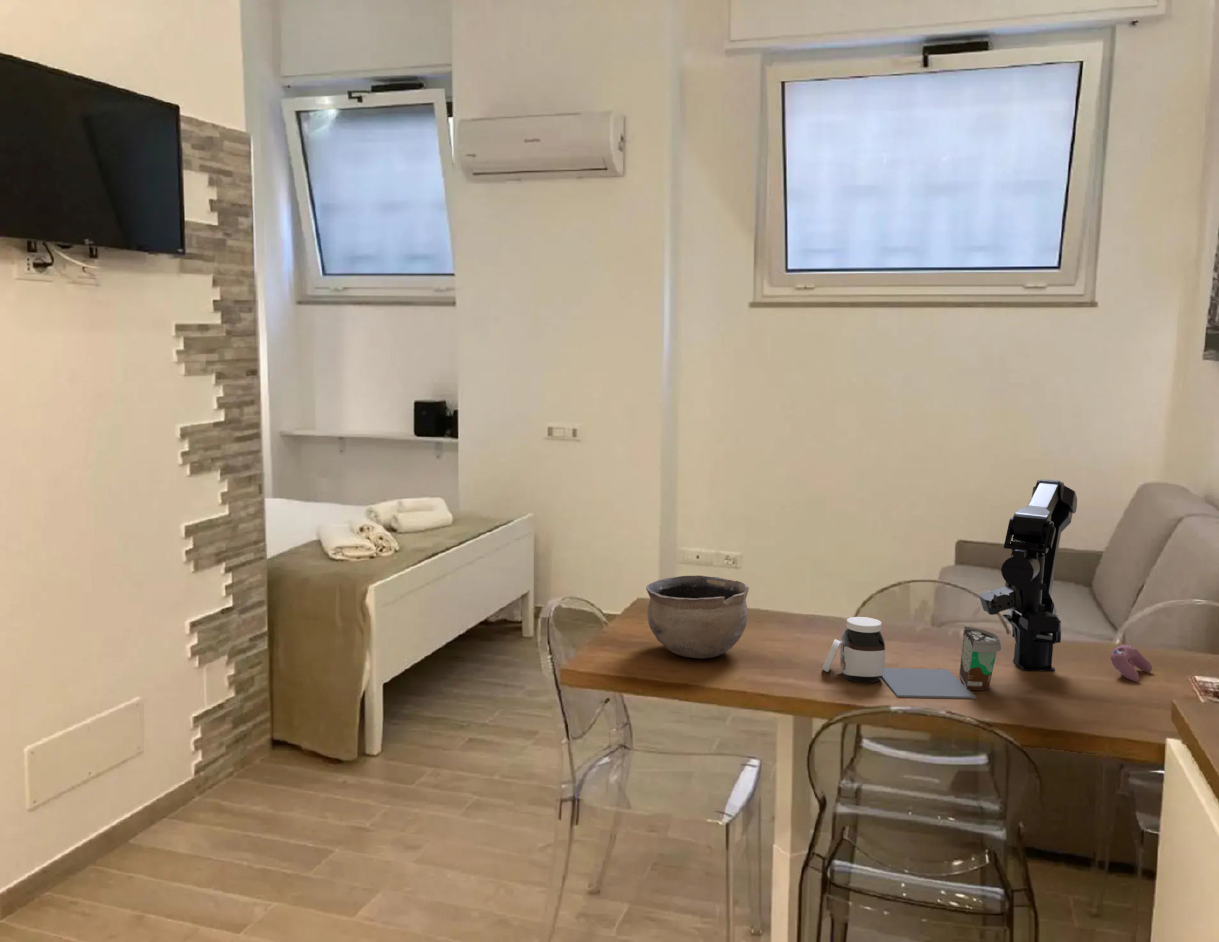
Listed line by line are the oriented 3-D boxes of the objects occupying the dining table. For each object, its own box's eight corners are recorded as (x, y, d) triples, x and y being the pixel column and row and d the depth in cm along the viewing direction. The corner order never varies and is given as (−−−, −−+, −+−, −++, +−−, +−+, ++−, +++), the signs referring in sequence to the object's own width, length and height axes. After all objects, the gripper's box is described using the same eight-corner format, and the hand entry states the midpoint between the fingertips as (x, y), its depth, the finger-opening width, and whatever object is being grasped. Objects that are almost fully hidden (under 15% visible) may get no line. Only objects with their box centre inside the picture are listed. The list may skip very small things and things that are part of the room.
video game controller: (1132, 675, 206) (1119, 643, 208) (1154, 670, 203) (1141, 638, 205) (1117, 685, 199) (1103, 652, 201) (1139, 681, 196) (1125, 647, 198)
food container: (1001, 696, 187) (1008, 645, 186) (967, 691, 188) (974, 641, 187) (989, 677, 199) (995, 629, 198) (958, 672, 200) (964, 625, 199)
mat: (947, 671, 201) (947, 669, 201) (976, 698, 186) (976, 696, 186) (875, 669, 202) (875, 667, 201) (897, 697, 186) (897, 695, 186)
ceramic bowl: (721, 676, 196) (723, 603, 194) (626, 657, 206) (628, 588, 204) (761, 648, 215) (763, 581, 213) (672, 632, 225) (674, 569, 223)
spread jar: (888, 685, 192) (891, 628, 191) (832, 686, 191) (835, 628, 190) (867, 666, 204) (870, 612, 202) (815, 666, 203) (817, 612, 202)
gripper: (968, 565, 200) (963, 639, 202) (1005, 587, 182) (999, 668, 183) (1022, 566, 200) (1017, 640, 202) (1064, 588, 182) (1058, 669, 183)
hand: (1021, 653), depth 193 cm, fingers closed
